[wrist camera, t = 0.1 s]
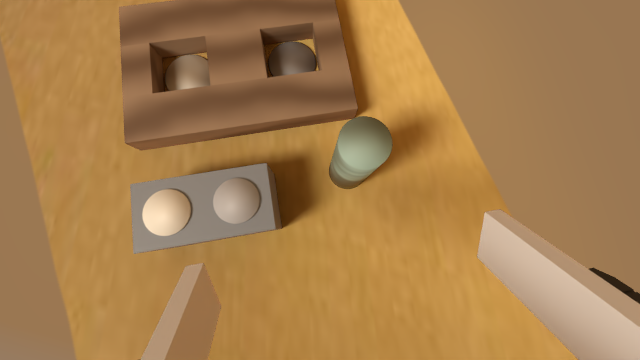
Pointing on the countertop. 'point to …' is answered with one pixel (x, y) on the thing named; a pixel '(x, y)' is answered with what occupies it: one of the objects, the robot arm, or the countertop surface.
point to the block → (204, 207)
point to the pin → (359, 151)
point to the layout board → (230, 69)
